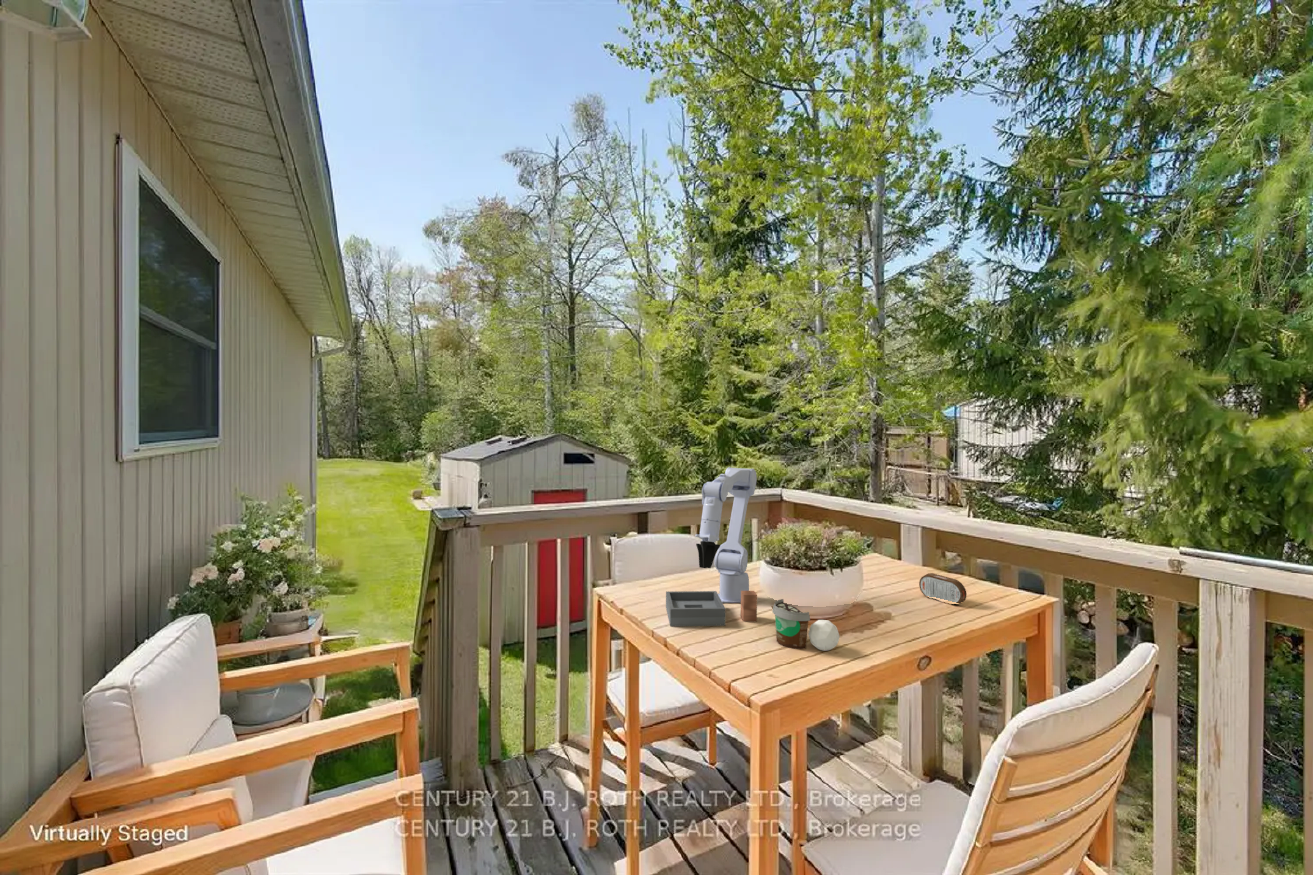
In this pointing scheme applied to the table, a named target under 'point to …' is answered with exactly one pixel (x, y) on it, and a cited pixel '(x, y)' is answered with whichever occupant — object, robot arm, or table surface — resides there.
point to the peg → (748, 606)
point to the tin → (942, 588)
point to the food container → (790, 625)
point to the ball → (823, 635)
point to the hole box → (695, 608)
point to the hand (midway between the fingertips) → (704, 567)
